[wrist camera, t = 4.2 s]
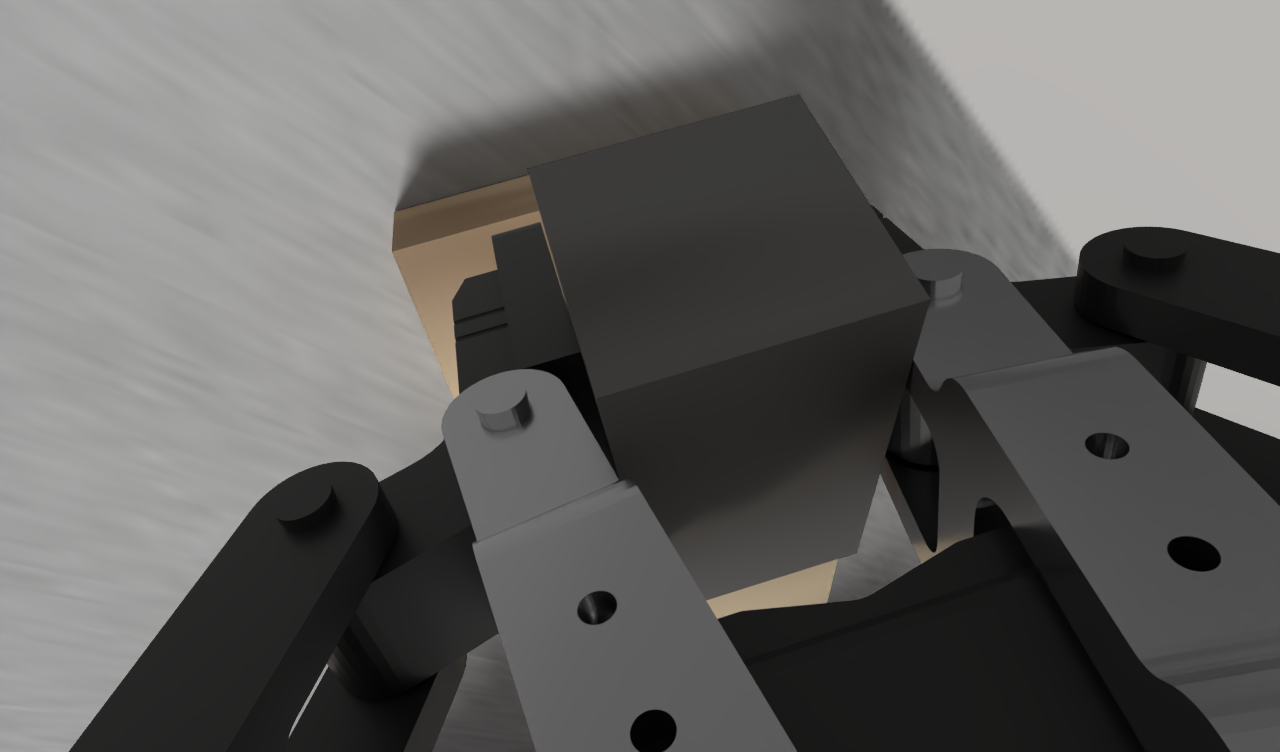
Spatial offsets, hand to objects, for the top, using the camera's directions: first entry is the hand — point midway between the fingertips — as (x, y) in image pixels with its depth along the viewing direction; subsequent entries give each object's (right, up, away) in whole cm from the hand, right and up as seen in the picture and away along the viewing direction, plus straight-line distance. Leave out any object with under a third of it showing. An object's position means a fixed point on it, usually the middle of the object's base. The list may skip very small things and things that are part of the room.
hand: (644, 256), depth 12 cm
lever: (+1, -4, +5) cm, 6 cm away
